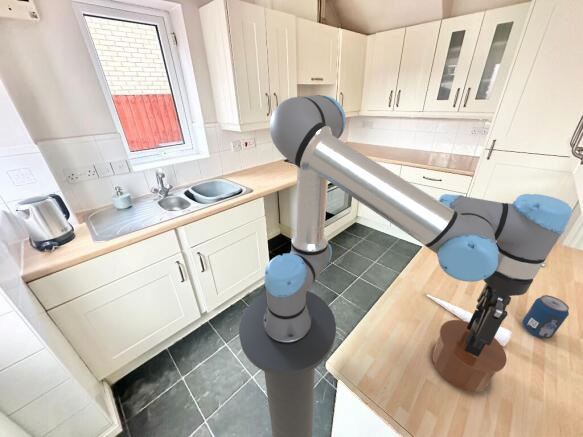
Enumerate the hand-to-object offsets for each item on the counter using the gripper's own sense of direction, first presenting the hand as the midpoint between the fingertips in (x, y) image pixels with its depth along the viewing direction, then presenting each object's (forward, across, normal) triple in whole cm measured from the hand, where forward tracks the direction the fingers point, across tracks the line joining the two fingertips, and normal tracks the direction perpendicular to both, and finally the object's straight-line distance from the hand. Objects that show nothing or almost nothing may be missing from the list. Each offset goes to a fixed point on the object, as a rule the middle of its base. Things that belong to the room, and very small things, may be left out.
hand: (472, 340), depth 60 cm
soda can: (+11, +26, -18) cm, 34 cm away
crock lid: (+1, 0, 0) cm, 1 cm away
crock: (+11, 0, 0) cm, 11 cm away
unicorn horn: (+11, +18, 0) cm, 21 cm away
